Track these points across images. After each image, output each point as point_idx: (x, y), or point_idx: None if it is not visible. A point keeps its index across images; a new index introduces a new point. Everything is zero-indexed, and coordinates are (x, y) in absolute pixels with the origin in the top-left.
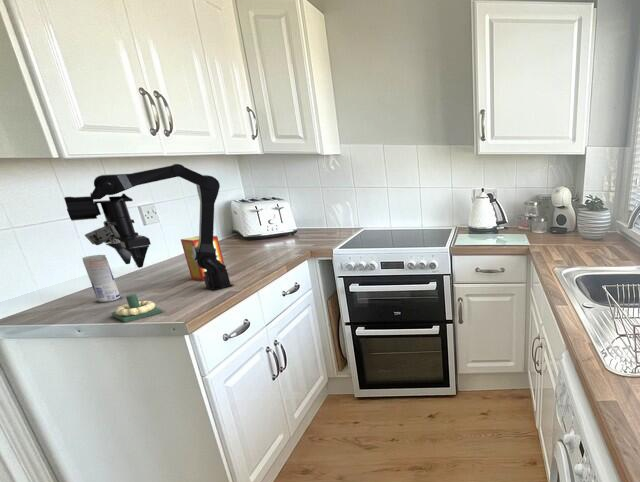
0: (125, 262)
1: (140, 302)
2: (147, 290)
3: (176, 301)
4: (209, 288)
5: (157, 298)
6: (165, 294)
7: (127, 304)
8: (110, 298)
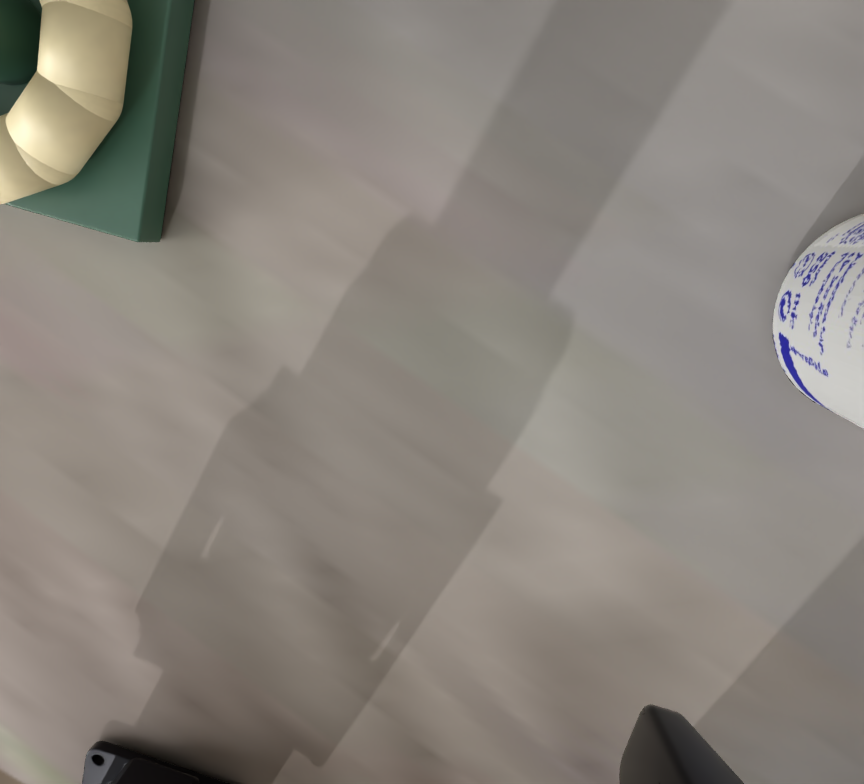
0: (661, 736)
1: (4, 118)
2: (767, 653)
3: (107, 442)
4: (174, 767)
5: (375, 472)
6: (428, 582)
7: (44, 3)
8: (797, 278)
